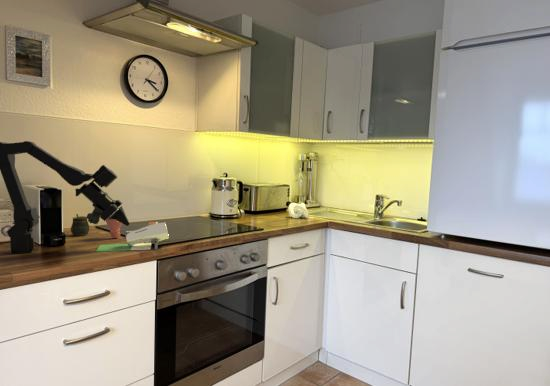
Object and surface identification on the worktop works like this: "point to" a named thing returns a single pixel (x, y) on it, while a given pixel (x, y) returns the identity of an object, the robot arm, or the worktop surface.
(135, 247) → the putting mat
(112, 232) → the light bulb
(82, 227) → the mate gourd
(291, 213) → the white lumpy piece
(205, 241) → the worktop surface
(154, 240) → the beer glass
